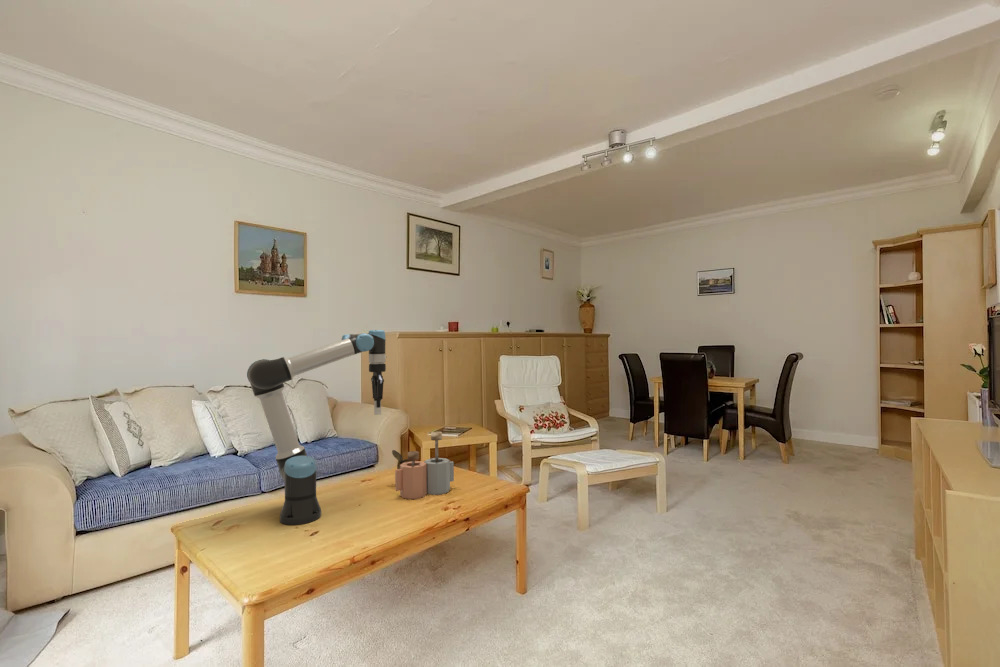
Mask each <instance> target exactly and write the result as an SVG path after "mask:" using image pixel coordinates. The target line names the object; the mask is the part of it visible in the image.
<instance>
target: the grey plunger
mask: <svg viewBox="0 0 1000 667" xmlns="http://www.w3.org/2000/svg"><path fill="white" fill-rule="evenodd" d="M430 436H431V437H430V439H431V441H434V447H435V450H434V451H435V452H434V458H435V463H438V458H439V441H442V440H443V432H442V431H431V432H430Z"/></svg>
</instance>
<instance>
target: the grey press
mask: <svg viewBox="0 0 1000 667" xmlns="http://www.w3.org/2000/svg"><path fill="white" fill-rule="evenodd" d="M423 462H424V463H426V464H427V494H426V495H431V496H437V495H438V496H439V495H445V494H447V493H449V491H450V490H451V483H452V482H454V481H455V480H454V479H455V478H454V476H455V475H454V474H455V473H454V472H455V471H454V470H455V468H454V466H455V465H454V464H455V462H454V461H451V460H450V459H448V458H444V457H438V463H435V457H433V458H427V459H426V460H424V461H423Z"/></svg>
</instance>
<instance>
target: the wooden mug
mask: <svg viewBox="0 0 1000 667" xmlns="http://www.w3.org/2000/svg"><path fill="white" fill-rule="evenodd" d="M391 454H392V457H394V458H395V459H396V460H397V465H396V470H398V469H400V465H401V464H403V463H404V462H411V461H409V460H408V458H405V459H404V458H403V456H402V454H401V453H400V452H398V451H397V450H396V449H392V451H391Z"/></svg>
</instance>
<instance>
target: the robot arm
mask: <svg viewBox="0 0 1000 667" xmlns="http://www.w3.org/2000/svg"><path fill="white" fill-rule="evenodd" d="M364 352H368V363H369V364H368V372H370V373H372V376H371V377H370V378H371V379H370V381H371V391H372V399H373V403H374V404H373V405H374V406H373V407H374V408H373V410H374V411H373V412H374V414H373V415H375V416H378V415H379V416H380V415H382V400H383V399H384V398H383V397H384V396H383V395H384V382H385V379H384V378H383V377H384V376H383V372H386V369H387V368H386V367H387V366H386V358H387V355H386V332H385V330H382V329H370V330H368V333H365V332H364V333H357V334H353V333H352V334H351V333H349V334H343V335H342V336H341V340H338V341H335V342H333V343H330V344H326V345H324V346H320V347H318V348H314V349H311V350H308V351H305V352H302V353H299V354H297V355H294V356H291V357H285V356H283V357H279V358H276V359H271V360H270V359H264V358H263V359H258V360H256V361H254V362H253V363H251V364H250V366H249V367H248V369H247V372H246V377H247V380H248V382H249V384H250V386H251V390H252V393H253V395H254V397H256V398H258V399H259V400H260V403H261V406H262V408H263V412H264V415H265V419H266V421H267V423H268V426H269V430H270V433H271V436H272V438H273V442H274V445H275V447H276V448H275V449H276V452H277V454H276V455H275V461H276V464H277V466H278V473H279V474H280V477H281V478H282V479H283V482H284V502H283V504H282V508H281V511H280V513H279V522H280V523H281V524H283V525H289V526H292V525H297V526H298V525H303V524H308V523H312V522H314V521H317V520H318V519H320V517H321V516H322V508H321V506H320V503H319V501H318V497H317V467H318V466H317V461H316V459H315V458H314V457H313V456H311V455H310V456H308V455H307V451H306V449H305V446H303V445H301V444H300V442H299V440H298V437H297V434H296V431H295V430H296V429H295V427H294V425H293V422H292V421H293V420H292V419H291V415H290V412H289V410H288V406H287V402H286V399H285V397H284V395H283V394H284V393H283V390H284V388H285V384H284V383H286V382H289V381H292V380H293V379H294V377H296V376H299V375H301V374H305V373H306V372H309V371H310V372H311V371H313V370H315V369H318V368H320V367H323V366H326V365H330V364H331V363H336V362H337V361H340V360H344V359H345V358H348V357H351V356H355V355H358V354H360V353H364Z"/></svg>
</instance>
